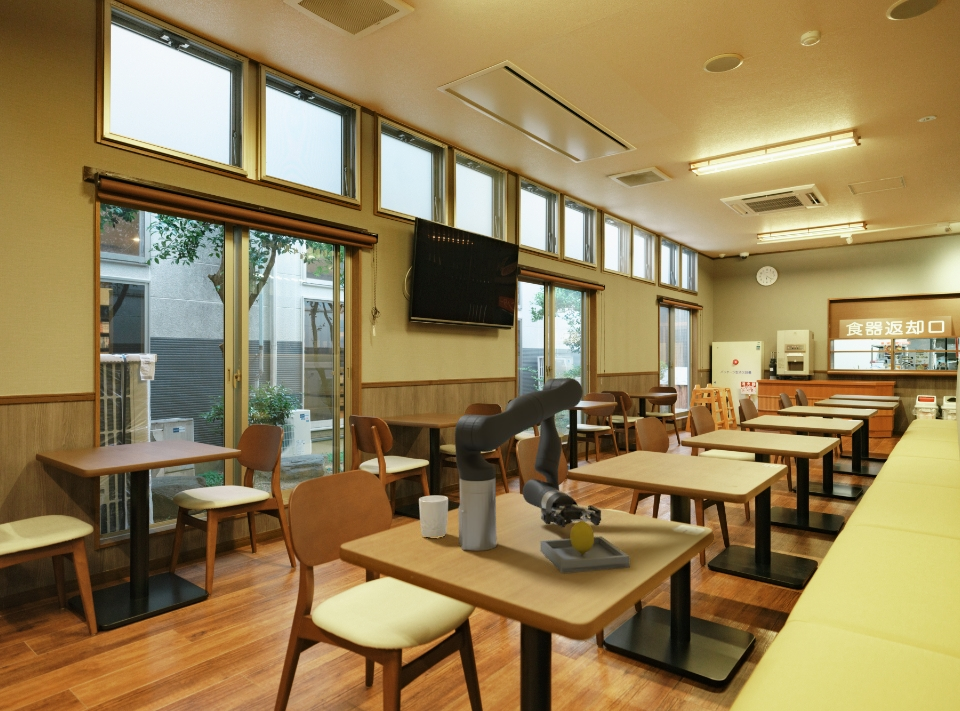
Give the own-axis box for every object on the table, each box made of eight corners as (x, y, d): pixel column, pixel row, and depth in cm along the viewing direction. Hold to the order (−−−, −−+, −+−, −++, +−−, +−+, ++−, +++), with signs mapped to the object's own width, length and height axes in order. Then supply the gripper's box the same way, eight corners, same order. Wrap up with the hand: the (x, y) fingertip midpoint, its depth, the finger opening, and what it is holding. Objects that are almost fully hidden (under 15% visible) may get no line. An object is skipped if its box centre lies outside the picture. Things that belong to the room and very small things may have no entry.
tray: (561, 573, 130) (561, 561, 131) (540, 551, 146) (540, 540, 146) (629, 567, 134) (629, 556, 134) (601, 546, 149) (601, 536, 149)
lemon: (568, 557, 138) (567, 522, 138) (573, 549, 144) (572, 516, 144) (592, 559, 136) (591, 524, 137) (596, 552, 142) (595, 518, 142)
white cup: (435, 541, 156) (434, 503, 156) (413, 536, 160) (412, 499, 161) (454, 534, 162) (453, 497, 162) (432, 529, 167) (432, 494, 167)
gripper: (532, 493, 155) (551, 508, 139) (584, 490, 158) (608, 504, 142) (533, 522, 155) (552, 540, 139) (584, 519, 158) (609, 536, 142)
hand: (580, 522), depth 141 cm, fingers open, 8 cm apart
